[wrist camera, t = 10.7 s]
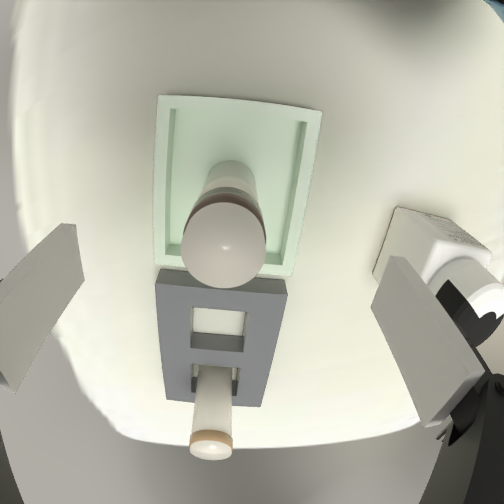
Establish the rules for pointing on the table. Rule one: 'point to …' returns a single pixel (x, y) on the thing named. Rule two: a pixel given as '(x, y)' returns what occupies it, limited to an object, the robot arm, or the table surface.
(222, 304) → the fuse block
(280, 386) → the table surface
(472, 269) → the container
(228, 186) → the fuse
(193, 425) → the cylinder
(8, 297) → the robot arm
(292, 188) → the parts tray
